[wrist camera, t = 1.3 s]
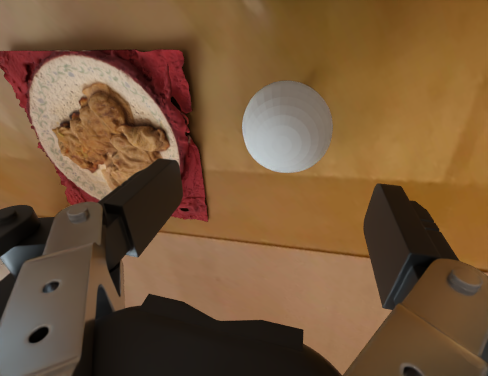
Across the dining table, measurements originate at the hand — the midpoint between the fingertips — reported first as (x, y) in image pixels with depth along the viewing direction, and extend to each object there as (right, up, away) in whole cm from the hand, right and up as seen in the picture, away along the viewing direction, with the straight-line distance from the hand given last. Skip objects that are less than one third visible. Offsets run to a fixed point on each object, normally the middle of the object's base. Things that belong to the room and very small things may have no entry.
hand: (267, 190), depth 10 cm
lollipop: (+5, +10, +17) cm, 20 cm away
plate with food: (-19, +7, +26) cm, 33 cm away
